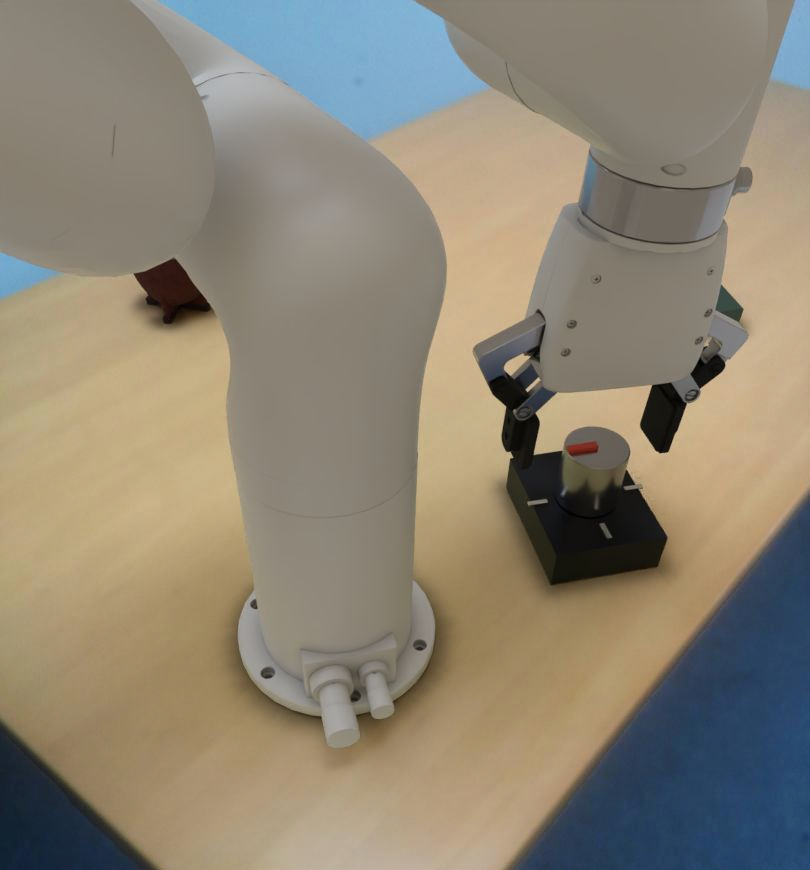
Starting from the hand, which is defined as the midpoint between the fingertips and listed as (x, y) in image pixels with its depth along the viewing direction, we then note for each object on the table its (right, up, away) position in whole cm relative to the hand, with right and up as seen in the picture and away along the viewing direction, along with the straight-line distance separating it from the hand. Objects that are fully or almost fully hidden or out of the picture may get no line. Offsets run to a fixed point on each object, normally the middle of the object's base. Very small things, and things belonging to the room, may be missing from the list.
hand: (586, 447), depth 58 cm
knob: (+1, -3, +4) cm, 5 cm away
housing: (+13, +17, +27) cm, 35 cm away
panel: (+1, -5, +6) cm, 8 cm away
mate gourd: (-34, +16, +25) cm, 45 cm away
